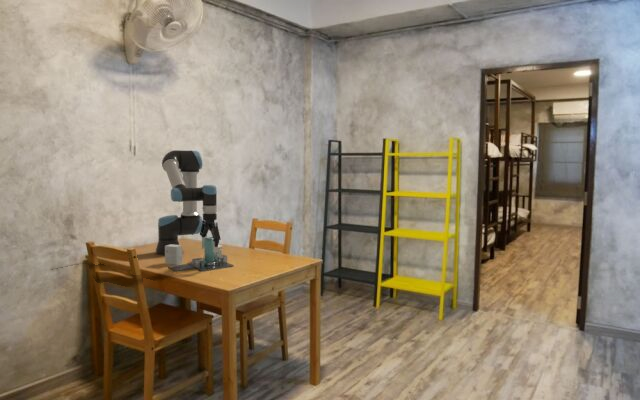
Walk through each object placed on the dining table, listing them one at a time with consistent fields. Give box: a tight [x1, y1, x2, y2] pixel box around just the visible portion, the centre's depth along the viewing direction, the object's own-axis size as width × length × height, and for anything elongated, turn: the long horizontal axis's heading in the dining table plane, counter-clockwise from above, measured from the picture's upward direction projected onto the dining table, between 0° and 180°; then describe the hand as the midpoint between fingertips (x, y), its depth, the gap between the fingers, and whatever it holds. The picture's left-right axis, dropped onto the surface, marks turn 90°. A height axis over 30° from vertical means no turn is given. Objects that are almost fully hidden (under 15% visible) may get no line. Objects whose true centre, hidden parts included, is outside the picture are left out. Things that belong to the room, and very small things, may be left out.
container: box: [209, 236, 223, 255], centre depth 274 cm, size 8×8×13 cm
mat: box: [167, 263, 197, 273], centre depth 250 cm, size 11×11×1 cm
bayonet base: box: [186, 253, 234, 272], centre depth 256 cm, size 19×19×5 cm
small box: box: [164, 244, 184, 266], centre depth 260 cm, size 8×6×10 cm
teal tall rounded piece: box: [200, 237, 221, 264], centre depth 256 cm, size 6×12×14 cm, turn 130°
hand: (210, 250), depth 256 cm, fingers open, 13 cm apart
